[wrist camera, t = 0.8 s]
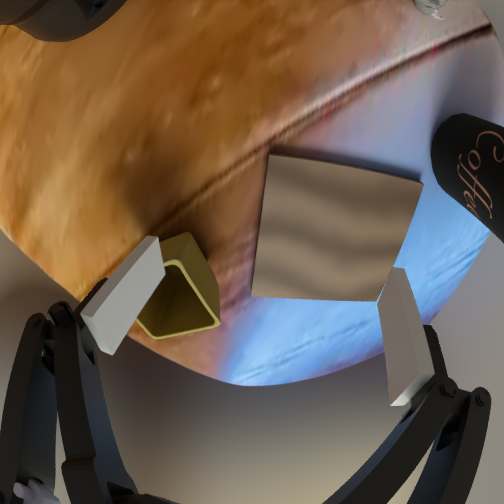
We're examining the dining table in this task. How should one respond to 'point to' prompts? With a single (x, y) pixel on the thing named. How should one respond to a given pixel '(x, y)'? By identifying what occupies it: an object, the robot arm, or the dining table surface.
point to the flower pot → (182, 292)
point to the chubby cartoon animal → (430, 7)
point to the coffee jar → (472, 167)
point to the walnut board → (329, 229)
